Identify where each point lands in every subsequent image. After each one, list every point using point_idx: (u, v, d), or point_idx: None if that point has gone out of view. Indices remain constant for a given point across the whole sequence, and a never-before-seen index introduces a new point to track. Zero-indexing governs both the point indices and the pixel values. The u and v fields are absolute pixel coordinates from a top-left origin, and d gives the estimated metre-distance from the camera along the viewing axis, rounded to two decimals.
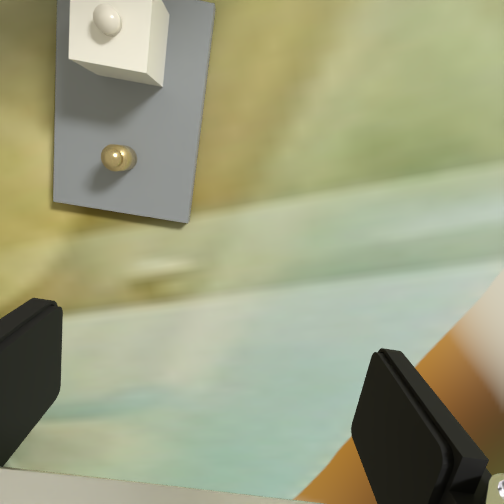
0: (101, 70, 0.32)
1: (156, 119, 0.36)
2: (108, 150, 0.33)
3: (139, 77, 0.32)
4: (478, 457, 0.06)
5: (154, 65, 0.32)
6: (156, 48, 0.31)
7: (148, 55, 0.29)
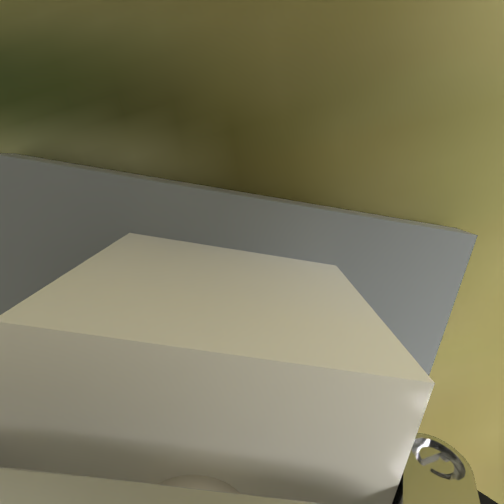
0: None
1: None
2: None
3: None
4: None
5: None
6: None
7: None
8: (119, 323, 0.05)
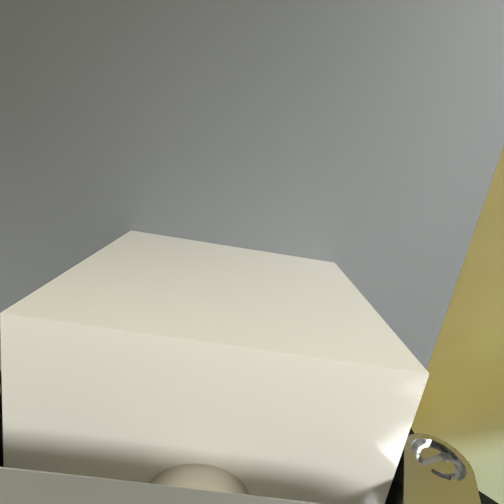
0: None
1: (333, 226, 0.11)
2: None
3: None
4: None
5: None
6: None
7: None
8: (123, 316, 0.06)
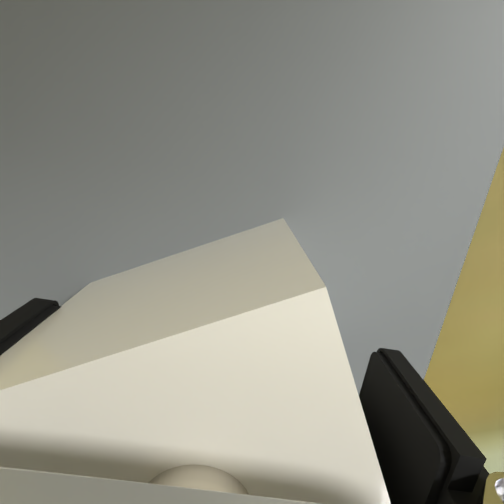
0: None
1: (333, 227, 0.11)
2: None
3: None
4: (476, 456, 0.06)
5: None
6: None
7: None
8: (36, 367, 0.06)
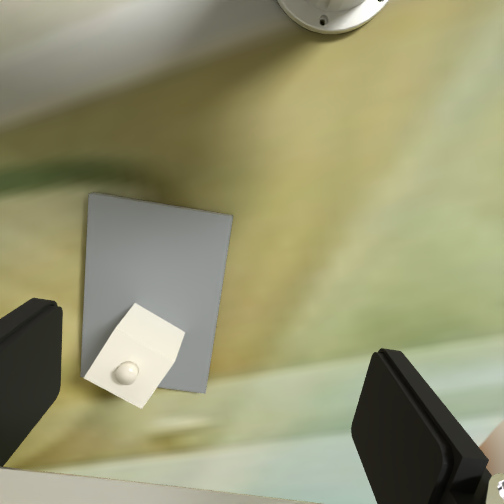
0: None
1: (178, 309, 0.39)
2: None
3: None
4: (478, 457, 0.06)
5: (169, 343, 0.36)
6: (158, 336, 0.36)
7: (162, 353, 0.34)
8: (93, 363, 0.34)
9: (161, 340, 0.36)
